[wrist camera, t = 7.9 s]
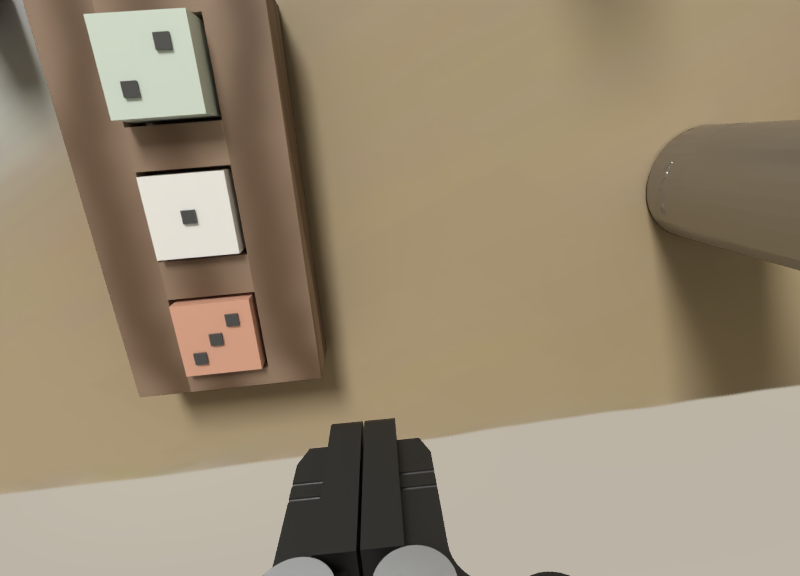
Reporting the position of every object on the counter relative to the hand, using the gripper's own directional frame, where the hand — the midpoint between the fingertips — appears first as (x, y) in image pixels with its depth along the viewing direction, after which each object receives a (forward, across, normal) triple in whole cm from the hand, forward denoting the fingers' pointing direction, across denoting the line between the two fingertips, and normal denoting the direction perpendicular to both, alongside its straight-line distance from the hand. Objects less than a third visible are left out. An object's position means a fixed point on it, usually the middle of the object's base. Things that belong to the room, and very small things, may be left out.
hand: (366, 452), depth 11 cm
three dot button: (+25, +12, +6) cm, 28 cm away
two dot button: (+24, +12, -12) cm, 29 cm away
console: (+27, +12, -3) cm, 30 cm away
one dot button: (+25, +12, -3) cm, 28 cm away
